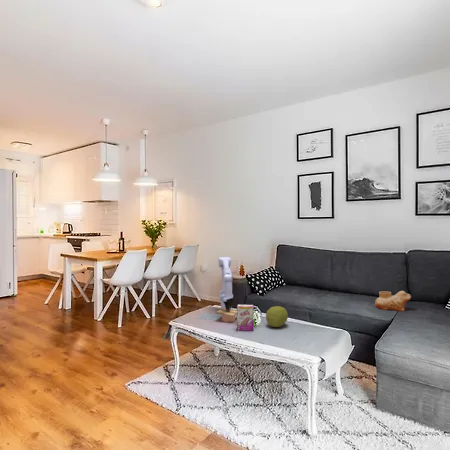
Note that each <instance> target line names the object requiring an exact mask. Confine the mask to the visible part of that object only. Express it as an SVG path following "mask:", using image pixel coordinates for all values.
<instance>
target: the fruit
mask: <svg viewBox="0 0 450 450" xmlns="http://www.w3.org/2000/svg"><path fill="white" fill-rule="evenodd" d="M288 318H289V314H288V311H287V309H286V308H285V307H282V306H279V305H277V306H276V305H275V306H271V307H270V308H269V309H267V310H266V314H265V320H266V322H267V325H268V326H270V327H273V328H280V327H283V325H284V324H285V323H286V322H287V321H288Z"/></svg>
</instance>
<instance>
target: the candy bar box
mask: <svg viewBox="0 0 450 450" xmlns="http://www.w3.org/2000/svg"><path fill="white" fill-rule="evenodd" d="M236 310H237V314H236V331H238V332H239V331H240V332H241V331H243V332H244V331H247V332H254V328H255V327H254V325H255V324H254V322H255V321H254V320H255V319H254V317H255V316H254V313H255V311H254V310H255V307H254V304H237V306H236Z"/></svg>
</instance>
